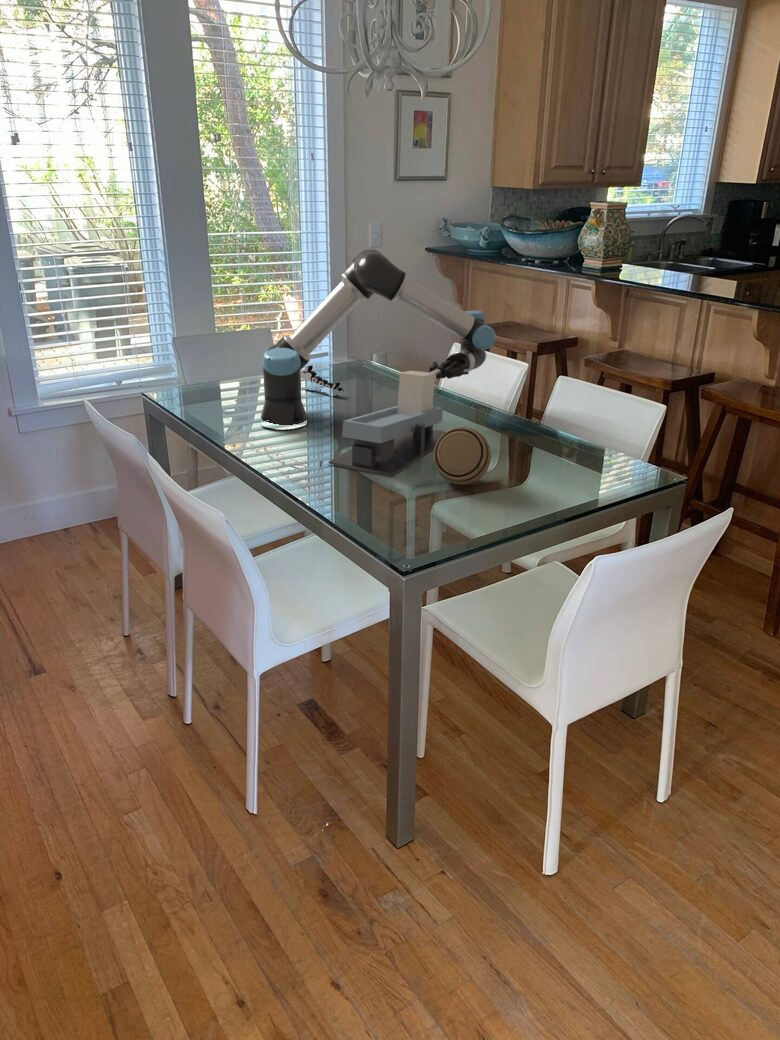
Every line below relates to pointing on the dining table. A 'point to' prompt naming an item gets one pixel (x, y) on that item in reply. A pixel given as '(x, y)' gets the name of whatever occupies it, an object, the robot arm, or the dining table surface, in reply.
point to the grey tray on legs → (386, 427)
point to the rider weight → (415, 392)
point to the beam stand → (404, 454)
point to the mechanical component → (462, 455)
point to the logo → (318, 379)
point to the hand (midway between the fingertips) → (429, 378)
